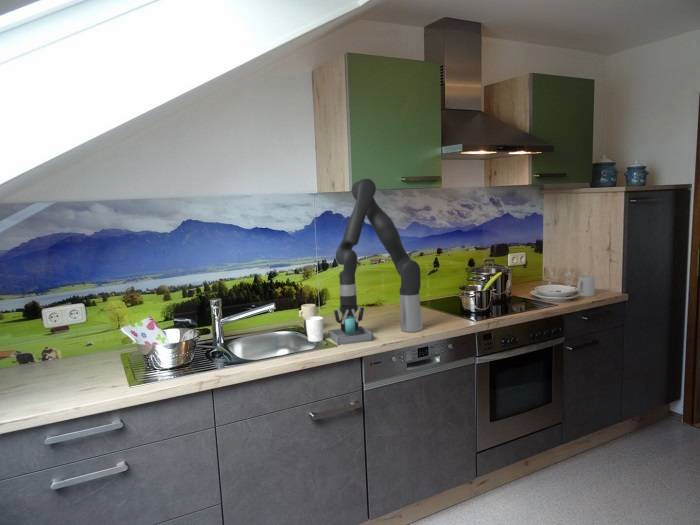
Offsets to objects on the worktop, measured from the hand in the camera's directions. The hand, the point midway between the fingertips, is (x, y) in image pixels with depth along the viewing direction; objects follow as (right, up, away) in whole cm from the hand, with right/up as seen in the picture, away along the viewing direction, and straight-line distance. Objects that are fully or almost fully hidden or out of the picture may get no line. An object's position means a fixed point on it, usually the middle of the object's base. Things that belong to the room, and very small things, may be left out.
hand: (349, 330), depth 228 cm
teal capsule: (0, -1, 0) cm, 1 cm away
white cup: (-15, -4, +1) cm, 16 cm away
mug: (+138, +11, +69) cm, 154 cm away
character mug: (-19, -3, +16) cm, 25 cm away
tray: (0, -3, 0) cm, 4 cm away
